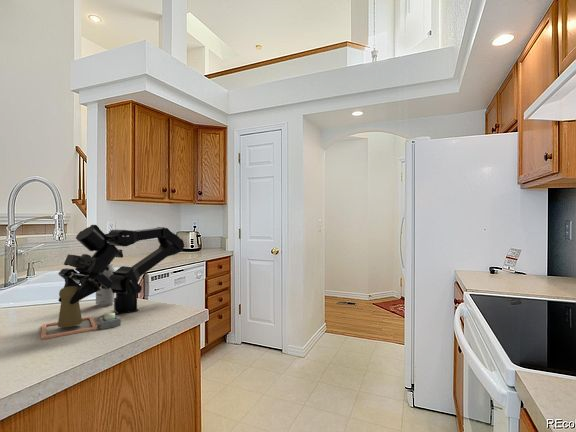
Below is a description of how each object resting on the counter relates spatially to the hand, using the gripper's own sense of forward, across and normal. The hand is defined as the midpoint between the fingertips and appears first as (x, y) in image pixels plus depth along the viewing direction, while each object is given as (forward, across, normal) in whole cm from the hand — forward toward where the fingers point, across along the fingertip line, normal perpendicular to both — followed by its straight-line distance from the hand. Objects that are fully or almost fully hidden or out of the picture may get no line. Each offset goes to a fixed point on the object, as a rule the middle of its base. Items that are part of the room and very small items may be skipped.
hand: (65, 302), depth 93 cm
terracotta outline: (+5, 0, +6) cm, 8 cm away
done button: (0, +9, +11) cm, 14 cm away
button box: (0, +9, +11) cm, 14 cm away
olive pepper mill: (+4, 0, +6) cm, 7 cm away
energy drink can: (-10, -14, +22) cm, 27 cm away
